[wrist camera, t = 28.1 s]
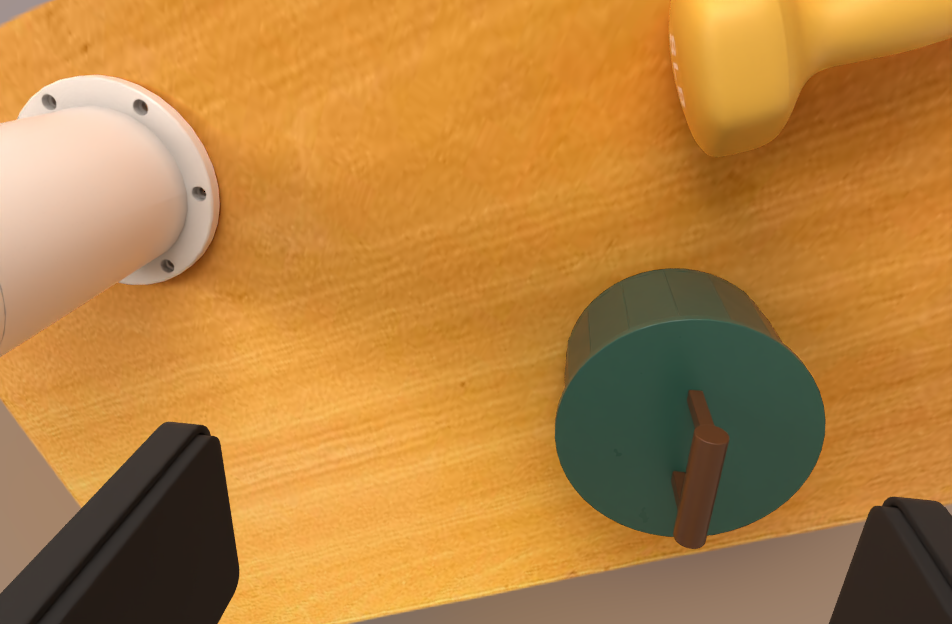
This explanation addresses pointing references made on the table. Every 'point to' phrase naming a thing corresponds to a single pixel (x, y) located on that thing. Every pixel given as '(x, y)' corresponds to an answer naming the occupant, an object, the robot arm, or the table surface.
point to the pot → (658, 308)
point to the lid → (689, 427)
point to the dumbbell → (779, 56)
